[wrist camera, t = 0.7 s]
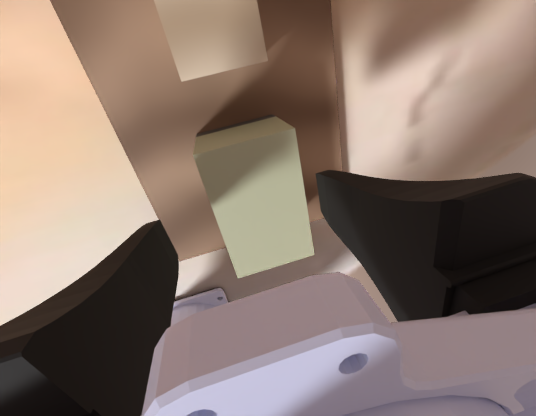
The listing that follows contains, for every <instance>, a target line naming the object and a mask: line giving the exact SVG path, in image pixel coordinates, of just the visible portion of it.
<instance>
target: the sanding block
mask: <svg viewBox="0 0 536 416" xmlns="http://www.w3.org/2000/svg"><path fill="white" fill-rule="evenodd" d="M193 157H194V160H195V163H196V165H197V168H198V171H199V174H200V176H201V179H202V182H203V185H204V187H205V190H206V193H207V196H208V198H209V201H210V204H211V206H212V209H213V212H214V215H215V217H216V220H217V223H218V226H219V228H220V231H221V234H222V237H223V239H224V242H225V245H226V248H227V250H228V253H229V256H230V258H231V261H232V264H233V267H234V269H235V272H236V275H237V278H238V279H239V278H242V277H245V276H248V275H252V274H255V273H258V272H261V271H264V270H268V269H271V268H274V267H277V266H281V265H284V264H287V263H290V262H293V261H297V260H300V259H303V258H306V257H310V256H313V255H315V254H314V248H313V241H312V235H311V228H310V222H309V216H308V209H307V203H306V196H305V190H304V183H303V177H302V170H301V164H300V157H299V151H298V144H297V138H296V131H295V128H294V127H293V126H291V125H289V124H288V123H286V122H284V121H283V120H281V119H279V118H278V117H276V116H274V115H273V114H271V115H267V116H264V117H260V118H256V119H252V120H248V121H244V122H240V123H237V124H233V125H229V126H225V127H221V128H217V129H213V130H210V131H206V132H202V133H198V134H197V135H196V140H195V146H194V151H193Z"/></svg>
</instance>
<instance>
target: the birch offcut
mask: <svg viewBox="0 0 536 416" xmlns="http://www.w3.org/2000/svg"><path fill="white" fill-rule="evenodd" d="M154 2H155V5H156V8H157V11H158V14H159V17H160V20H161V23H162V26H163V29H164V32H165V35H166V38H167V41H168V44H169V47H170V49H171V52H172V55H173V58H174V61H175V64H176V67H177V70H178V73H179V76H180V79H181V82H183V81H187V80H191V79H195V78H199V77H203V76H208V75H212V74H216V73H220V72H224V71H228V70H232V69H237V68H241V67H245V66H249V65H253V64H257V63H261V62H266V61H268V58H267V53H266V47H265V42H264V36H263V31H262V26H261V20H260V15H259V9H258V4H257V0H154Z"/></svg>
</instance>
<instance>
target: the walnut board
mask: <svg viewBox="0 0 536 416" xmlns="http://www.w3.org/2000/svg"><path fill="white" fill-rule="evenodd" d="M50 1H51V3H52V5H53V7H54V9H55V11H56V13H57V15H58V17H59V19H60V21H61V23H62V25H63V27H64V29H65V32H66V34H67V36H68V38H69V40H70V42H71V44H72V46H73V48H74V50H75V52H76V54H77V56H78V58H79V60H80V62H81V64H82V66H83V68H84V70H85V72H86V74H87V76H88V78H89V80H90V82H91V84H92V86H93V88H94V90H95V92H96V94H97V96H98V98H99V100H100V102H101V104H102V106H103V108H104V110H105V112H106V114H107V116H108V118H109V120H110V122H111V124H112V126H113V128H114V130H115V132H116V134H117V136H118V138H119V140H120V142H121V144H122V146H123V148H124V150H125V152H126V154H127V156H128V158H129V160H130V162H131V164H132V166H133V169H134V171H135V173H136V175H137V177H138V179H139V181H140V183H141V185H142V187H143V189H144V191H145V193H146V195H147V197H148V199H149V201H150V203H151V205H152V207H153V209H154V211H155V213H156V215H157V217H158V219H159V220H161V222H162V224H163V226H164V228H165V230H166V232H167V234H168V236H169V238H170V240H171V242H172V244H173V246H174V248H175V250H176V252H177V254H178V259H179V261H182V260H186V259H189V258H192V257H196V256H199V255H202V254H206V253H209V252H212V251H216V250H219V249H223V248H226V245H225V242H224V239H223V237H222V234H221V231H220V228H219V226H218V223H217V220H216V217H215V215H214V212H213V209H212V206H211V204H210V201H209V198H208V196H207V193H206V190H205V187H204V185H203V182H202V179H201V176H200V174H199V171H198V168H197V165H196V163H195V160H194V157H193V151H194V146H195V140H196V135H197V134H198V133H202V132H206V131H210V130H213V129H217V128H221V127H225V126H229V125H233V124H237V123H240V122H244V121H248V120H252V119H256V118H260V117H264V116H267V115H271V114H273V115H274V116H276V117H278V118H279V119H281V120H283V121H284V122H286V123H288V124H289V125H291V126H293V127H294V128H295V131H296V138H297V144H298V151H299V157H300V164H301V170H302V177H303V183H304V190H305V196H306V203H307V209H308V216H309V222H313V221H316V220H320V219H323V218H324V216H323V214H322V213H321V209H320V202H319V195H318V188H317V181H316V173H319V172H322V171H326V170H336V171H342V158H341V144H340V130H339V116H338V102H337V88H336V73H335V59H334V45H333V31H332V17H331V3H330V0H257V4H258V9H259V15H260V20H261V26H262V31H263V36H264V42H265V47H266V53H267V58H268V61H266V62H261V63H257V64H253V65H249V66H245V67H241V68H237V69H232V70H228V71H224V72H220V73H216V74H212V75H208V76H203V77H199V78H195V79H191V80H187V81H183V82H181V79H180V76H179V73H178V70H177V67H176V64H175V61H174V58H173V55H172V52H171V49H170V47H169V44H168V41H167V38H166V35H165V32H164V29H163V26H162V23H161V20H160V17H159V14H158V11H157V8H156V5H155V2H154V0H50Z"/></svg>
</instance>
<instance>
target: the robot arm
mask: <svg viewBox="0 0 536 416" xmlns="http://www.w3.org/2000/svg"><path fill="white" fill-rule="evenodd" d="M316 181H317V188H318V195H319V202H320V209H321V213H322V214H323V216H324V218H325V219H326V221H327V223H328V224H329V226H330V227H331V228H332V230H333V231H334V232H335V233H336V234H337V236H338V237H339V238H340V239H341V240H342V241H343V243H344V244H345V245H346V246H347V247H348V248H349V250H350V251H351V252H352V253H353V254H354V255H355V257H356V258H357V259H358V260H359V262H360V263H361V264H362V266H363V267H364V268H365V270H366V271H367V273H368V275H369V276H370V277H371V279H372V280H373V282H374V284H375V285H376V287H377V288H378V290H379V291H380V293H381V295H382V296H383V298H384V299H385V301H386V303H387V304H388V306H389V307H390V309H391V311H392V312H393V314H394V316H395V318H396V319H397V321H398V322H392V323H390V322H389V320H388V319H387V318H386V316H385V315H384V314H383V312H382V311H381V310H380V308H379V307H378V306H377V304H376V303H375V302H374V300H373V299H372V297H371V296H370V295H369V293H368V292H367V291H366V289H365V288H364V287H363V285H362V284H361V283H360V281H359V280H357V279H355V278H352V277H350V276H347V275H345V274H342V273H340V272H336V273H327V274H319V275H311V276H308V277H305V278H302V279H299V280H296V281H293V282H290V283H287V284H284V285H281V286H278V287H274V288H271V289H268V290H265V291H262V292H259V293H256V294H253V295H250V296H247V297H244V298H241V299H238V300H235V301H232V302H228V300H227V298H226V295H225V293H224V290H223V289H221V288H217V289H213V290H210V291H207V292H204V293H200V294H197V295H194V296H191V297H188V298H184V299H181V300H178V301H175V302H174V300H175V294H176V288H177V281H178V269H179V264H178V254H177V252H176V250H175V248H174V246H173V244H172V242H171V240H170V238H169V236H168V234H167V232H166V230H165V228H164V226H163V224H162V222H161V220H157V221H154V222H150V223H147V224H145V225H143V226H142V227H141V228H139V229H138V230H137V231H136V232H135V233H133V234H132V235H131V236H130V237H129V238H128V239H127V240H126V241H124V242H123V243H122V244H121V245H120V246H119V247H118V248H117V249H116V250H114V251H113V252H112V253H111V254H110V255H108V256H107V257H106V258H105V259H104V260H102V261H101V262H100V263H99V264H98V265H96V266H95V267H94V268H93V269H91V270H90V271H89V272H87V273H86V274H85V275H83V276H82V277H81V278H79V279H78V280H76V281H75V282H74V283H72V284H71V285H69V286H68V287H66V288H65V289H63V290H62V291H60V292H58V293H57V294H55V295H54V296H52V297H50V298H49V299H47V300H46V301H44V302H42V303H41V304H39V305H37V306H36V307H34V308H32V309H31V310H29V311H27V312H25V313H23V314H22V315H20V316H18V317H16V318H14V319H12V320H11V321H9V322H7V323H5V324H3V325H1V326H0V416H536V178H535V177H532V176H529V175H526V174H522V173H513V174H505V175H498V176H492V177H483V178H476V179H464V180H451V181H402V180H389V179H381V178H374V177H368V176H362V175H357V174H352V173H347V172H342V171H336V170H326V171H322V172H319V173H316ZM220 296H221V297H220Z"/></svg>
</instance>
